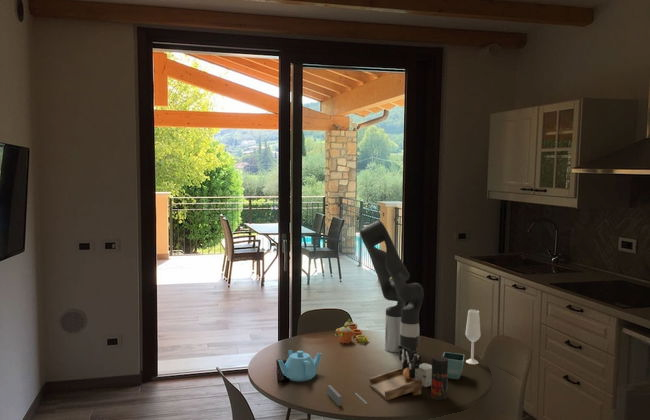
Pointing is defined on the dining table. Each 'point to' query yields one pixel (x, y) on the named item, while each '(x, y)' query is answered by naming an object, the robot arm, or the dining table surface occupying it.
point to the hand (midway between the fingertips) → (408, 375)
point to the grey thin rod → (361, 398)
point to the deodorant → (439, 377)
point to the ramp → (395, 384)
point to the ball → (406, 373)
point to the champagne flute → (473, 332)
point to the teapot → (300, 366)
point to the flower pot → (454, 364)
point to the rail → (334, 395)
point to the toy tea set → (350, 333)
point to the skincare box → (424, 374)
